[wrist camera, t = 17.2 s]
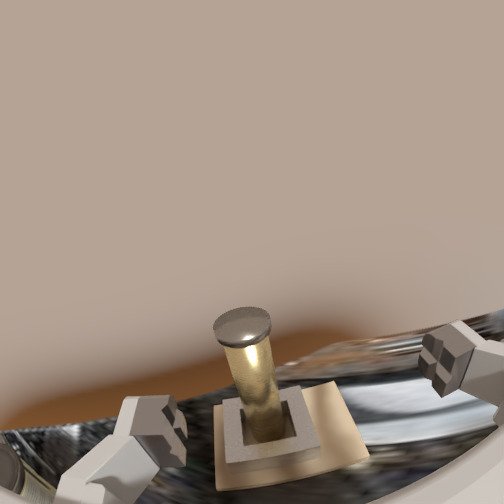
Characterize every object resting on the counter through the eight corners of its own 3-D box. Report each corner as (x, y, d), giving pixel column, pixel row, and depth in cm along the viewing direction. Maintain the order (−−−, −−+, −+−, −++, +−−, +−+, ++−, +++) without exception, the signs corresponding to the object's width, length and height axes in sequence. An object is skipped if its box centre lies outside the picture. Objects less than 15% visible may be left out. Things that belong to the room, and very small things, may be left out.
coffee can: (33, 540, 11) (-38, 492, 7) (39, 492, 21) (-19, 438, 16) (86, 555, 13) (10, 513, 8) (88, 500, 23) (27, 446, 18)
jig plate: (333, 384, 43) (333, 381, 42) (368, 458, 27) (369, 455, 27) (215, 409, 42) (213, 405, 41) (217, 491, 26) (216, 488, 26)
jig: (300, 399, 40) (299, 385, 39) (320, 457, 29) (320, 445, 28) (227, 413, 39) (222, 399, 38) (231, 474, 28) (225, 463, 27)
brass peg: (284, 412, 38) (265, 302, 31) (292, 441, 32) (275, 332, 26) (246, 420, 37) (213, 313, 31) (251, 450, 32) (213, 344, 25)
